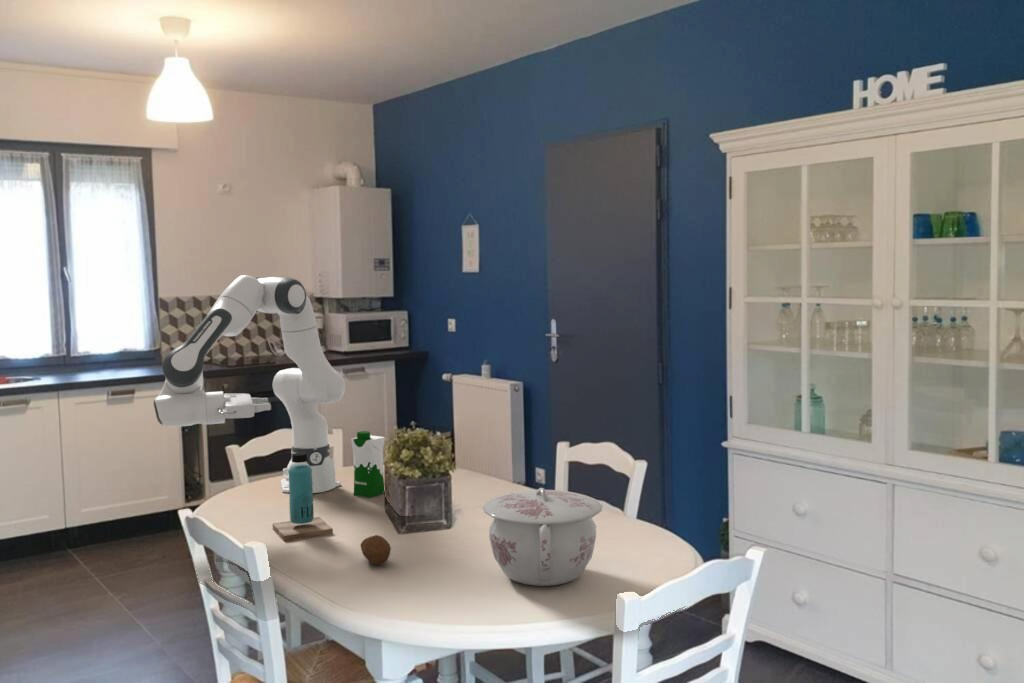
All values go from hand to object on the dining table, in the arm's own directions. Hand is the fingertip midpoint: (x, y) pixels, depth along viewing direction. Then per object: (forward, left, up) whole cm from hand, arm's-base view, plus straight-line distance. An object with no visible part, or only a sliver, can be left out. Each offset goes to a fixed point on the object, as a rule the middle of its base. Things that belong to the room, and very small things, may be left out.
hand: (269, 403), depth 252 cm
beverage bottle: (+14, +4, -32) cm, 35 cm away
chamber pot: (+77, +43, -34) cm, 95 cm away
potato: (+49, +13, -34) cm, 61 cm away
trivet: (+14, +4, -34) cm, 37 cm away
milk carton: (-15, +33, -34) cm, 50 cm away
